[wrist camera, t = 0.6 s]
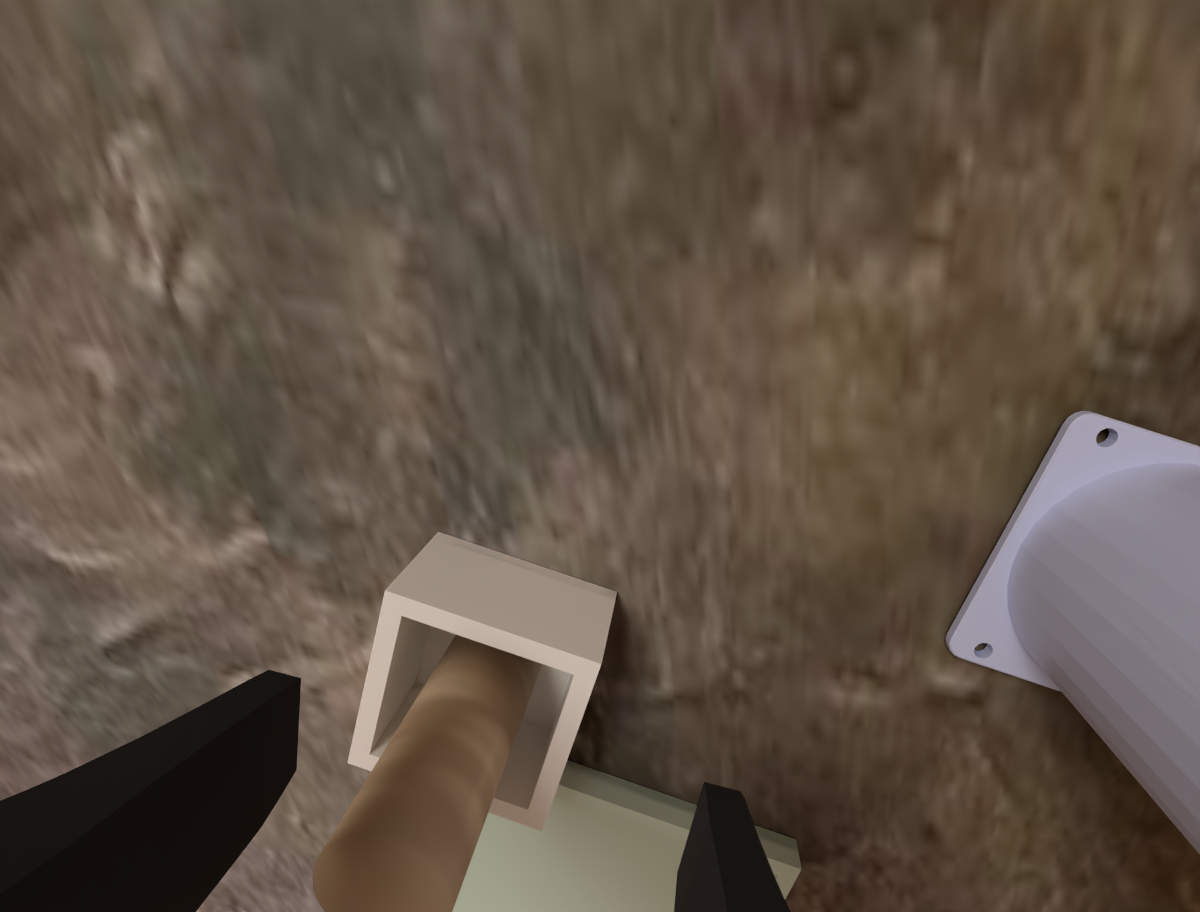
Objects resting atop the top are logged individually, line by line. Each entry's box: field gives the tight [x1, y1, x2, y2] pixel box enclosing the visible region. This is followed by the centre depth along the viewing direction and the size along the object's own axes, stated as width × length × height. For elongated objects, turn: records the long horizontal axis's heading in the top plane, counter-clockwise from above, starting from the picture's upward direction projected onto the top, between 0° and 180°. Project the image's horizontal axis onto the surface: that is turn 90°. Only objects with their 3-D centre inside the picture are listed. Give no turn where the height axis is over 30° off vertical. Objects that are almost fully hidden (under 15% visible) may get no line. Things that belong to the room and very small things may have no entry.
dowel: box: [313, 635, 542, 912], centre depth 18 cm, size 3×3×9 cm
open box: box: [348, 532, 617, 831], centre depth 21 cm, size 6×6×4 cm
